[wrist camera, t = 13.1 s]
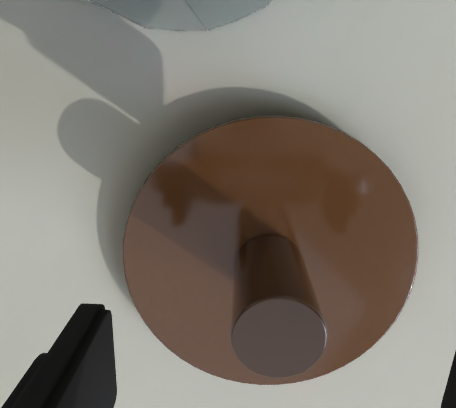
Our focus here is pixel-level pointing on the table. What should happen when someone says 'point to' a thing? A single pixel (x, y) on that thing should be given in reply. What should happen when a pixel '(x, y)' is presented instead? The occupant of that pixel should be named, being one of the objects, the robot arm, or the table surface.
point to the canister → (182, 12)
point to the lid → (270, 250)
